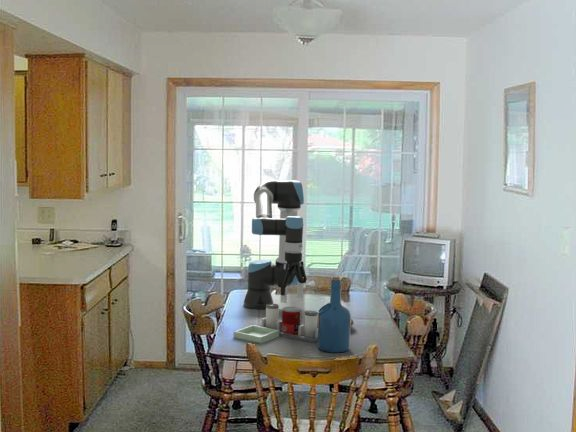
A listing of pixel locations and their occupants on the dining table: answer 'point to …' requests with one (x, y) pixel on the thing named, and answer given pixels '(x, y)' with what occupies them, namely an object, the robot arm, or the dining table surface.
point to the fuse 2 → (310, 323)
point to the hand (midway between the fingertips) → (291, 300)
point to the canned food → (291, 320)
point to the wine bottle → (334, 322)
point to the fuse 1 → (272, 316)
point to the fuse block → (299, 336)
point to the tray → (256, 334)
